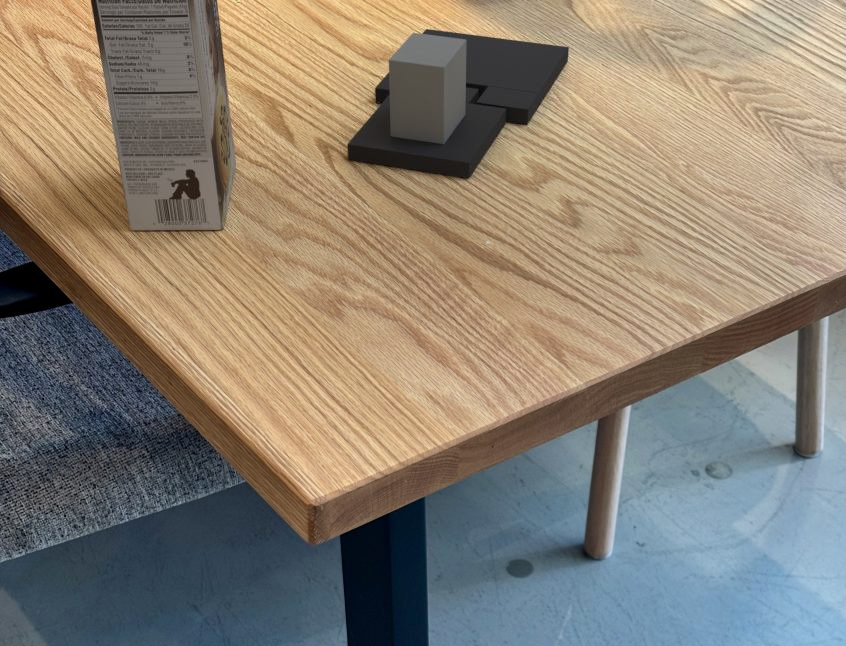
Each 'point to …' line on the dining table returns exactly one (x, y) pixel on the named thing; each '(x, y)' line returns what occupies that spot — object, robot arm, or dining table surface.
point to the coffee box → (168, 110)
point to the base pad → (504, 73)
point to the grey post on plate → (429, 113)
